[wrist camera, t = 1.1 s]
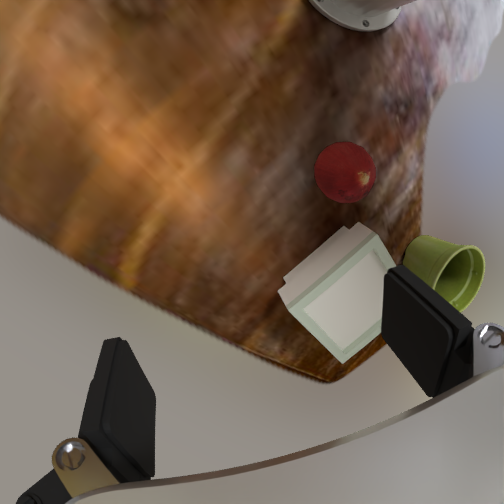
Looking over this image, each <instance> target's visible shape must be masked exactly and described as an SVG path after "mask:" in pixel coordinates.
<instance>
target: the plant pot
mask: <svg viewBox="0 0 504 504" xmlns="http://www.w3.org/2000/svg"><path fill="white" fill-rule="evenodd" d="M403 265H404V266H405V267H407V268H408V269H409V270H410V271H412V272H413V273H414V274H415V275H417V276H418V277H419V278H420V279H421V280H423V281H424V282H425V283H426V284H428V285H429V286H430V287H431V288H432V289H434V290H435V291H436V292H437V293H438V294H439V295H441V296H442V297H443V298H444V299H445V300H446V301H448V302H449V303H450V304H451V305H452V306H453V307H455V308H456V309H457V310H458V311H459V312H460V313H461V312H462V311H463V310H465V309H466V308H467V307H468V306H469V304H470V303H471V302H472V300H473V299H474V298H475V296H476V294H477V293H478V291H479V289H480V286H481V283H482V281H483V278H484V271H485V260H484V256H483V254H482V252H481V250H480V249H479V248H477V247H475V246H472V245H466V246H464V245H456V244H453V243H449V242H446V241H443V240H440V239H438V238H434V237H432V236H429V235H421V236H419V237H417V238H415V239H414V240H413V241H412V242H411V243H410V244H409V245H408V247H407V249H406V251H405V257H404V260H403Z"/></svg>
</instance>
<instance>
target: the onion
mask: <svg viewBox="0 0 504 504" xmlns="http://www.w3.org/2000/svg"><path fill="white" fill-rule="evenodd" d="M314 177H315V180H316V182H317V185H318V187H319V188H320V189H321V191H322V192H323V193H324V194H325V195H326V196H327V197H328V198H330V199H332V200H334V201H337V202H340V203H353V202H356V201H358V200H360V199H362V198H364V197H366V196H367V195H368V193H369V191H370V190H371V188H372V186H373V184H374V181H375V178H376V168H375V165H374V163H373V160H372V158H371V156H370V155H369V154H368V153H367V152H366V150H365V149H364V148H363V147H361V146H358V145H356V144H354V143H352V142H336V143H334V144H331V145H329V146H327V147H326V148H325V149H324V150H323V151H322V152H321V153H320V154H319V156H318V158H317V161H316V163H315V165H314Z"/></svg>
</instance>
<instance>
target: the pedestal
mask: <svg viewBox="0 0 504 504" xmlns="http://www.w3.org/2000/svg"><path fill="white" fill-rule="evenodd" d="M393 267H396V265H395V263H394V261H393V259H392V258H391V256H390V254H389V253H388V251H387V249H386V248H385V246H384V244H383V243H382V241H381V239H380V238H379V236H378V234H377V233H375V232H374V231H372V230H371V229H369V228H368V227H366V226H364V225H363V224H361V223H360V222H357V223H356V224H355V225H354V226H353V227H352V228H351V229H350V230H349V229H348V228H346V227H345V226H343V227H342V228H340V229H339V230H338V231H337V232H336V233H335V234H333V235H332V236H331V237H330V238H329V239H328V240H327V241H325V242H324V243H323V244H322V245H321V246H320V247H318V248H317V249H316V250H315V251H314V252H313V253H311V254H310V255H309V256H308V257H307V258H306V259H304V260H303V261H302V262H301V263H300V264H298V265H297V266H296V267H295V268H294V269H293V270H291V271H290V272H289V273H288V274H287V275H285V276H284V277H283V279H284V280H285V282H286V284H285V285H284V286H283V287H282V288H280V289H279V290H278V293H279V294H280V296H281V298H282V300H283V302H284V304H285V306H286V307H287V309H288V311H289V312H290V313H291V314H292V315H293V316H294V317H295V318H296V319H297V320H298V321H299V322H300V323H301V324H302V325H303V326H304V327H305V328H306V329H307V330H308V331H309V332H310V333H311V334H312V335H313V336H314V337H315V338H316V339H317V340H318V341H319V342H320V343H321V344H323V345H324V346H325V347H326V348H327V349H328V350H329V351H330V352H331V353H332V354H333V355H334V356H335V357H336V358H337V359H338V360H339V361H340V362H341V363H342V364H343V363H344V362H346V361H347V360H348V359H349V358H351V357H352V356H353V355H354V354H356V353H357V352H358V351H359V350H361V349H362V348H363V347H364V346H366V345H367V344H368V343H369V342H370V341H372V340H373V339H374V338H375V337H376V336H378V335H379V334H380V333H381V322H382V307H383V286H384V275H385V274H387V271H388V269H389V268H393Z"/></svg>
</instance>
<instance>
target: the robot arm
mask: <svg viewBox="0 0 504 504" xmlns="http://www.w3.org/2000/svg"><path fill="white" fill-rule="evenodd" d="M413 1H416V0H318V1H317V0H309V2H310V3H311V4H312V5H313V6H314V7H315V8H316V9H317V10H318V11H319V12H320V13H321V14H322V15H324V16H325V17H327V18H328V19H329V20H331V21H333V22H334V23H336V24H338V25H340V26H343V27H345V28H348V29H351V30H356V31H368V32H370V31H375V30H379V29H382V28H385V27H387V26H389V25H390V24H392V23H393V22H394V21H395V20H396V19H397V17H398V15H399V13H400V11H401V7H402V6H403V5H405V4H408V3H411V2H413ZM471 325H472V323H471V322H470V321H469V320H468V319H467V318H466V317H464V315H463V314H461V313H460V312H459V311H458V310H457V309H456V308H455V307H453V306H452V305H451V304H450V303H449V302H448V301H446V300H445V299H444V298H443V297H442V296H441V295H439V294H438V293H437V292H436V291H435V290H434V289H432V288H431V287H430V286H429V285H428V284H426V283H425V282H424V281H423V280H421V279H420V278H419V277H418V276H417V275H415V274H414V273H413V272H412V271H410V270H409V269H408V268H407V267H405V266H404V265H399V266H396V267H393V268H389V269H388V271H387V274H385V275H384V286H383V307H382V322H381V334H382V337H383V339H384V340H385V342H386V343H387V344H388V345H389V347H390V348H391V349H392V351H393V352H394V353H395V354H396V356H397V357H398V358H399V359H400V361H401V362H402V363H403V365H404V366H405V367H406V368H407V370H408V371H409V372H410V374H411V375H412V376H413V378H414V379H415V380H416V381H417V383H418V384H419V386H420V387H421V388H422V389H423V391H424V392H425V393H426V395H427V396H428V397H433V398H432V399H430V400H428V401H426V402H424V403H422V404H420V405H418V406H416V407H414V408H412V409H410V410H408V411H405V412H403V413H401V414H399V415H397V416H394V417H392V418H390V419H388V420H385V421H383V422H381V423H378V424H376V425H373V426H371V427H368V428H366V429H363V430H361V431H358V432H356V433H353V434H350V435H347V436H345V437H342V438H339V439H336V440H333V441H330V442H327V443H324V444H322V445H318V446H316V447H312V448H309V449H306V450H302V451H299V452H295V453H292V454H288V455H285V456H281V457H278V458H273V459H269V460H265V461H262V462H257V463H253V464H248V465H244V466H239V467H234V468H229V469H224V470H219V471H213V472H207V473H201V474H194V475H188V476H180V477H172V478H164V479H155V480H151V477H154V475H155V411H156V396H155V393H154V391H153V389H152V387H151V385H150V383H149V382H148V380H147V378H146V376H145V374H144V373H143V371H142V369H141V367H140V365H139V363H138V361H137V359H136V357H135V356H134V353H133V352H132V350H131V348H130V346H129V344H128V342H127V341H126V340H122V339H121V338H120V337H117V338H112V339H107V340H104V342H103V345H102V349H101V353H100V356H99V360H98V363H97V367H96V371H95V375H94V378H93V380H92V381H91V383H90V387H89V391H88V395H87V399H86V403H85V408H84V412H83V416H82V421H81V425H80V430H79V435H78V438H73V437H72V438H69V439H66V440H64V441H62V442H61V443H59V445H57V447H56V448H55V450H54V451H53V454H52V465H53V467H54V469H53V470H52V471H50V472H49V473H48V474H47V475H45V476H44V477H43V478H42V479H40V480H39V481H38V482H37V483H36V484H34V485H33V486H32V487H31V488H29V489H28V490H27V491H26V492H24V493H23V494H22V495H21V496H20V497H19V498H18V500H17V502H16V504H504V328H503V327H502V326H500V325H497V324H494V323H484V324H481V325H479V326H477V327H476V329H474V328H473V327H471Z"/></svg>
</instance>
